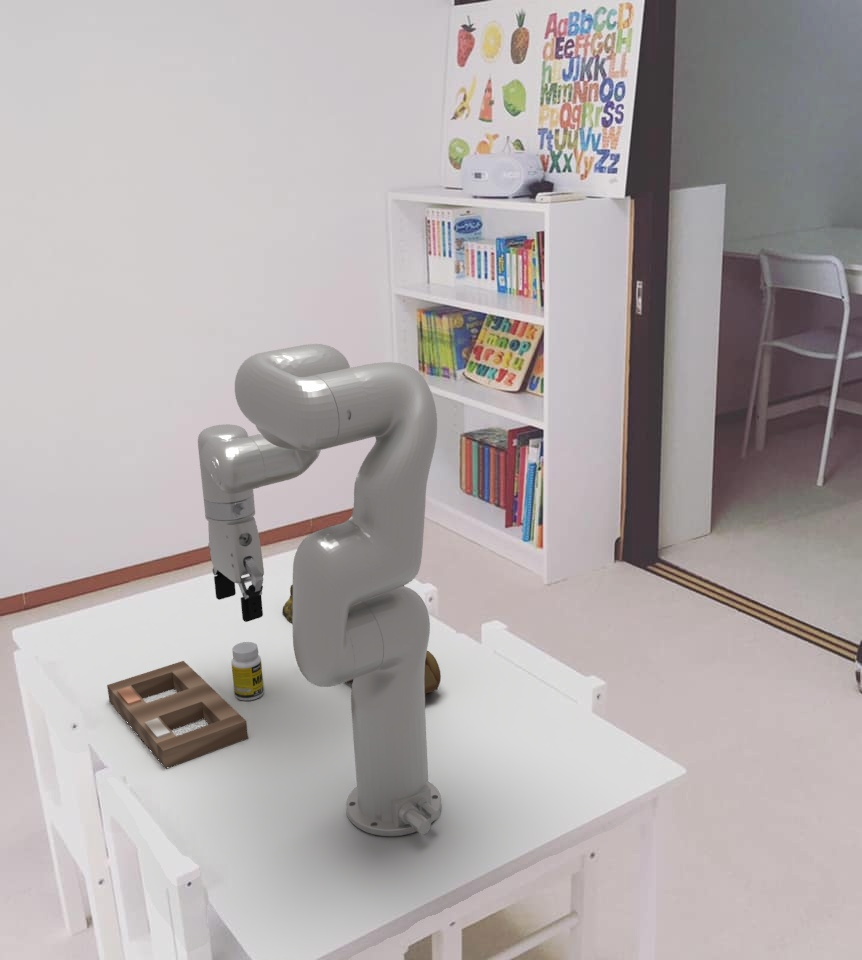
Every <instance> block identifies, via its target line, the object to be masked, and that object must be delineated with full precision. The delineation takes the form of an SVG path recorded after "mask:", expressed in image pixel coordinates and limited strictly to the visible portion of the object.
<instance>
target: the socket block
mask: <svg viewBox="0 0 862 960" xmlns="http://www.w3.org/2000/svg"><path fill="white" fill-rule="evenodd" d="M106 687H107V693H108V694H107V695H108V701H109V703H110V704H111V705H112V707H113V708H114V709H115V710H116V712H117V713H118V714H119V715H120V716H121V717H122V719H123V720H124V719H125V720H126V721H127V722H128V723H127V722H126V721H125V720H124V721H125V722H126V723H127V724H128V726H129V725H130V726H131V727H132V728H133V729H132V728H131V727H130V726H129V727H130V728H131V729H132V730H133V732H134V731H135V732H136V733H137V734H138V735H139V736H138V735H137V734H136V733H135V732H134V733H135V734H136V735H137V736H138V738H139V737H140V738H141V739H142V740H143V741H144V742H143V741H142V740H141V739H140V738H139V739H140V740H141V741H142V742H143V744H144V743H145V744H146V745H147V746H148V747H149V748H148V747H147V746H146V745H145V744H144V745H145V746H146V747H147V748H148V750H149V749H150V750H151V751H152V752H153V753H152V752H151V751H150V750H149V751H150V752H151V753H152V755H153V756H154V755H155V756H156V757H157V758H156V757H155V756H154V757H155V758H156V759H157V760H158V759H159V760H158V762H159V761H160V762H161V763H162V764H163V765H164V766H163V765H162V764H161V763H160V762H159V763H160V764H161V765H162V766H163V768H164V767H165V768H167V767H170V766H172V765H175V766H177V765H176V764H178V765H180V764H183V763H186V762H189V761H192V760H193V759H196V758H199V757H201V756H204V755H207V754H210V753H212V752H215V751H219V750H221V749H223V748H226V747H229V746H231V745H234V744H237V743H239V742H242V741H245V740H248V739H249V735H248V725H247V720H246V719H245V718H244V717H243V716H242V715H241V714H240V713H239V712H237V710H236V709H234V707H232V706H231V704H229V703H228V702H227V701H226V700H225V699H224V698H223V697H222V696H221V695H220V694H219V693H218V692H217V691H216V690H215V689H214V688H213V687H212V686H211V685H209V684H208V683H207V681H205V679H203V678H202V677H201V676H200V675H199V673H197V672H196V671H195V670H194V669H193V668H192V667H190V666H189V664H188V663H186V662H185V660H182V661H178V662H175V663H172V664H169V665H165V666H163V667H160V668H159V667H158V668H155V669H153V670H150V671H147V672H143V673H140V674H138V675H135V676H131V677H129V678H128V677H127V678H125V679H122V680H119V681H116V682H112V683H110V684H107V685H106ZM172 689H175V691H176V692H175V693H172V694H170V695H167V696H165V697H160V698H158V699H155V700H151V701H148V702H147V701H145V699H146V698H149V697H152V696H155V695H157V694H160V693H164V692H168V691H170V690H172ZM163 691H164V692H163ZM148 696H149V697H148ZM200 720H204V721H206V723H207V725H205V726H201V727H198V728H196V729H192V730H190V731H187V732H184V733H181V734H178V735H176V734H175V733H174V732H173V731H172V730H176V729H179V728H181V727H185V726H186V725H189V724H192V723H193V724H194V723H195V722H199V721H200ZM182 762H183V763H182ZM172 767H173V766H172ZM165 768H164V769H165ZM170 768H171V767H170ZM167 769H168V768H167Z"/></svg>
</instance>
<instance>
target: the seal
mask: <svg viewBox="0 0 862 960" xmlns="http://www.w3.org/2000/svg"><path fill="white" fill-rule="evenodd" d="M289 591H290V592H289V593H290V596H289V598H288V600H287V601H286V602H285V603H284V605H283V607H282V616H283V617H285V618H286V620H287V622H289V623H291V624H292V625H293V584H291V585H290V588H289Z"/></svg>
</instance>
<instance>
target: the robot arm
mask: <svg viewBox="0 0 862 960" xmlns="http://www.w3.org/2000/svg"><path fill="white" fill-rule="evenodd" d="M234 378H235V380H234V395H235V399H236V403H237V405H238V407H239V408H238V409H239V410H240V411H241V413H242V414H243V416H244V417H245V418H246V419H247V420H248V421H249V422H251V423H252V424H253V425H254V426H255V428H256V430H257V431H258V433H257V434H254V435H249V434H248V432H247V430H246V429H245V428H243V427H242V426H241V425H236V424H217V425H212V426H209V427H206V428H204V429H202V431H200V433H199V435H198V436H197V448H198V449H197V450H198V455H199V456H198V459H199V466H200V467H199V469H200V477H201V488H202V495H203V496H202V498H203V507H204V515H205V516H204V517H205V520H206V521H208V523H207V524H208V548H209V553H210V554H209V555H210V562H211V563H212V566H213V567H212V569H211V570H212V574H213V575H214V576H213V581H214V590H215V598H216V599H217V600H224V599H227V598H231V597H234V596H235V595H236V594H237V592H236V584H237V585H238V587H239V590H240V592H241V595H242V597H240V605H241V616H242V618H241V619H242V620H243V621H244V622H245V623H247V622H250V621H254V620H256V619H260V618H262V617H263V616H264V612H263V601H262V595H263V588H264V587H263V586H264V585H263V583H264V574H265V571H264V570H265V568H264V559H263V553H262V546H261V541H260V540H261V539H260V535H259V530H258V526H257V522H256V519H255V515H256V505H255V497H254V496H255V495H254V489H260V488H261V487H265V486H269V485H273V484H277V483H281V482H285V481H289V480H292V479H295V478H297V477H299V476H301V475H302V474H304V473H305V472H306V471H307V470H308V469H309V468H310V467H311V466H312V465H313V464H314V463H315V462H316V460H317V459H318V458H319V456H320V454H321V451H323V450H327V449H330V448H335V447H338V446H341V445H346V444H352V443H354V442H358V441H359V442H360V441H363V440H367V439H370V438H374V437H375V443H374V445H373V446H372V447H371V449H370V451H369V452H368V453H367V455H366V457H365V458H364V460H363V461H362V463H361V465H360V467H359V470H358V473H357V475H356V478H355V480H354V481H355V482H354V489H353V507H352V514H351V516H350V517H349V518H348V519H347V520H346V521H345V522H342V523H338V524H334V525H332V526H328V527H324V528H322V529H319V530H316V531H314V532H312V533H310V534H308V535H307V536H306V537H305V538H304V539H302V541H301V542H300V544H299V545H298V547H297V548H296V549H297V550H296V552H295V554H294V558H293V565H292V585H293V624H292V647H293V652H294V656H295V657H294V658H295V660H296V663H297V667H298V670H299V671H300V673H301V675H302V676H303V677H304V679H305V680H307V681H308V682H309V683H310V684H313V686H317V687H321V688H330V687H334V686H338V685H341V684H344V683H348V682H347V681H350V680H352V679H353V682H352V684H351V691H350V707H351V709H350V710H351V721H352V723H351V724H352V736H353V750H354V751H353V752H354V763H355V764H354V765H355V779H356V787H355V788H353V790H352V791H351V792H350V793H349V795H348V797H347V799H346V803H345V805H346V813H347V814H346V815H347V816H348V819H349V821H350V822H351V824H352V825H354V826H355V827H357V828H358V829H359V830H361V831H363V832H365V833H368V834H371V835H374V836H375V835H376V836H381V837H397V836H398V837H401V836H404V835H405V836H407V835H410V834H413V833H416V832H417V833H418V834H420V835H425V834H427V833H428V832H429V831H430V829H431V827H432V823H433V822H434V821H436V820H439V818H440V813H441V808H442V797H441V793H440V792H439V790H438V788H437V787H436V786H435V785H434V784H433V783H431V782H430V781H429V767H428V766H429V765H428V764H429V763H428V746H427V744H428V742H427V722H426V721H427V720H426V718H427V717H426V694H425V686H424V673H425V659H426V653H427V651H428V646H429V639H430V630H431V623H430V614H429V610H428V607H427V605H426V603H425V601H424V599H423V598H422V597H421V595H419V593H418V592H417V591H415V590H414V589H412V588H410V587H408V586H406V585H408V584H409V583H411V582H412V581H414V579H415V578H416V577H417V575H418V574H419V571H420V568H421V565H422V564H421V563H422V557H423V544H424V529H425V515H426V501H427V500H426V499H427V498H426V496H427V495H426V494H427V493H426V492H427V486H428V485H427V484H428V478H429V475H430V474H429V473H430V469H431V464H432V461H433V457H434V453H435V448H436V442H437V434H438V418H437V416H438V414H437V408H436V404H435V400H434V397H433V393H432V391H431V388H430V387H429V385H428V383H427V381H426V379H425V378H424V376H423V375H422V374H421V373H420V372H419V371H418V370H416V369H415V368H414V367H412V366H409V365H407V364H406V363H405V364H404V363H401V362H392V361H389V362H387V361H386V362H374V363H368V364H362V365H356V366H353V367H351V365H350V363H349V361H348V360H347V358H346V357H345V355H344V354H343V353H342V352H341V351H340V350H338V349H336V348H334V347H332V346H330V345H327V344H323V343H322V344H321V343H310V344H309V343H308V344H303V345H297V346H292V347H291V346H290V347H286V348H281V349H275V350H269V351H264V352H259V353H255V354H253V355H251V356H249V357H247V358H246V359H245V360H244V361H243V362H242V363H241V365H240V366H239V368H238V370H237V373H236V375H235V377H234ZM247 575H248V576H247ZM243 576H246V577H243ZM250 582H251V584H250V585H249V586H248V588H247V586H246V584H247V583H250Z"/></svg>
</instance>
